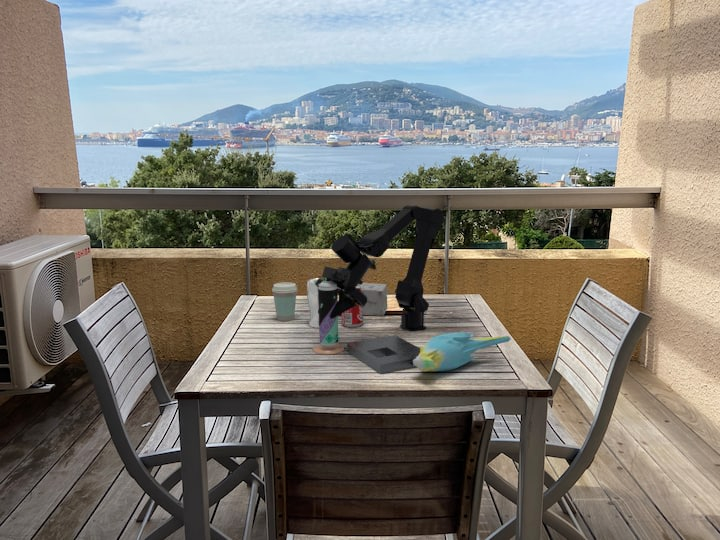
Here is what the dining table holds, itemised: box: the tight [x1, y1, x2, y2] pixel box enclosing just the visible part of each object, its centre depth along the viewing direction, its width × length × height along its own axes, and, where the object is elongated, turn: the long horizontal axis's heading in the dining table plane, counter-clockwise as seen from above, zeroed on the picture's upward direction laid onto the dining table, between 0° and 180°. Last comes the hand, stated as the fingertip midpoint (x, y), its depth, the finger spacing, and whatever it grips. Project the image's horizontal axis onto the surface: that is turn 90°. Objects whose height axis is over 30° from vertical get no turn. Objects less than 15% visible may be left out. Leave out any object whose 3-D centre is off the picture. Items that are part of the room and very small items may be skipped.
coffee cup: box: [271, 281, 298, 322], centre depth 208 cm, size 9×8×12 cm
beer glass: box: [306, 277, 321, 329], centre depth 200 cm, size 7×7×15 cm
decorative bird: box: [410, 332, 511, 373], centre depth 162 cm, size 14×30×9 cm, turn 130°
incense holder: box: [359, 282, 388, 317], centre depth 214 cm, size 10×8×10 cm
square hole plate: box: [346, 334, 421, 375], centre depth 170 cm, size 16×20×2 cm
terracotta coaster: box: [312, 343, 345, 356], centre depth 177 cm, size 9×9×1 cm
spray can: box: [318, 276, 339, 347], centre depth 175 cm, size 6×6×20 cm
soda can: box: [340, 284, 364, 328], centre depth 200 cm, size 7×7×13 cm
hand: (324, 315), depth 175 cm, fingers closed on spray can, 5 cm apart
